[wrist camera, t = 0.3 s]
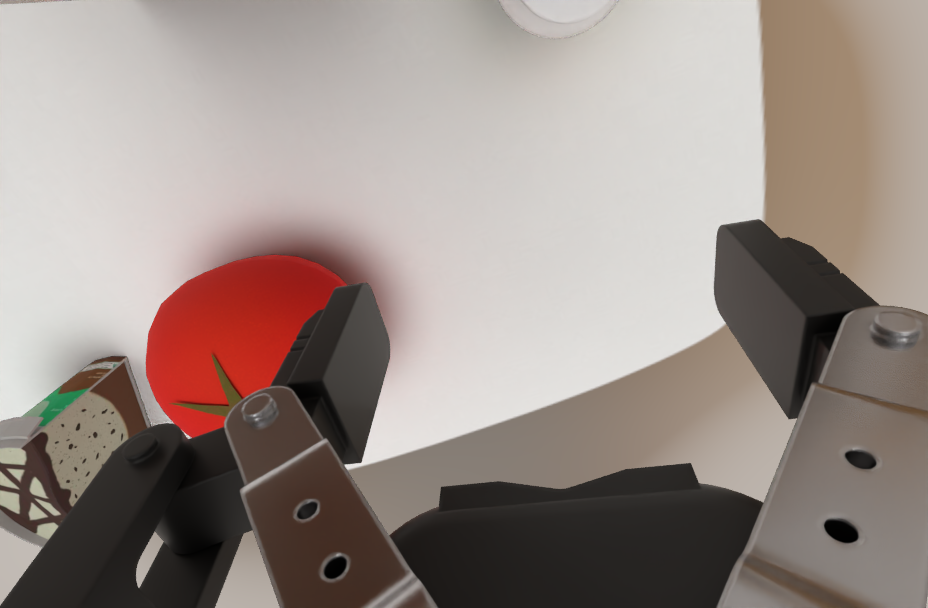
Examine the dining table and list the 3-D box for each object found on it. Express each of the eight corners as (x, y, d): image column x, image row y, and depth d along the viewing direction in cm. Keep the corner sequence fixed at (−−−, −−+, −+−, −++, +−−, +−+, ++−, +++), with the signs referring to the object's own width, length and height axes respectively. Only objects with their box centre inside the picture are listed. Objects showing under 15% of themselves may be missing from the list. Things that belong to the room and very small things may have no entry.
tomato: (271, 404, 42) (210, 518, 33) (157, 278, 36) (47, 375, 27) (426, 347, 38) (405, 459, 29) (328, 194, 32) (263, 277, 23)
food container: (40, 333, 39) (-87, 431, 30) (121, 341, 39) (16, 441, 30) (91, 445, 46) (-2, 552, 37) (160, 452, 46) (83, 560, 37)
